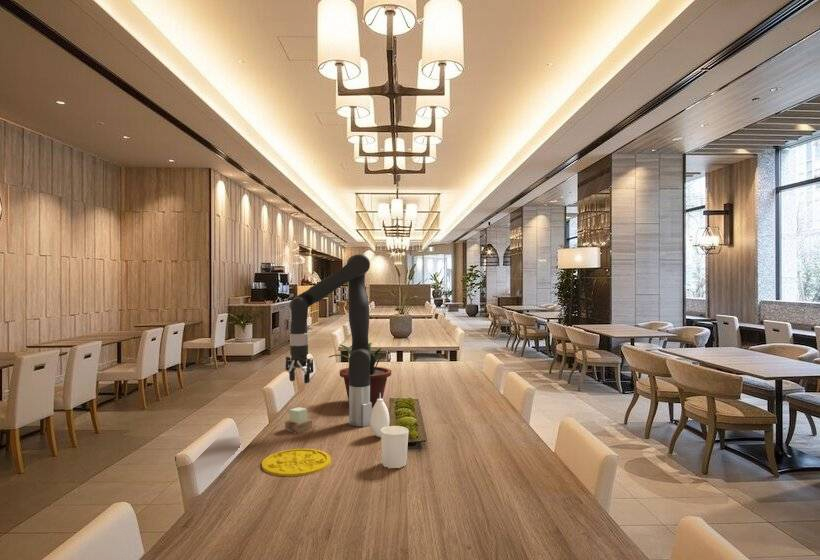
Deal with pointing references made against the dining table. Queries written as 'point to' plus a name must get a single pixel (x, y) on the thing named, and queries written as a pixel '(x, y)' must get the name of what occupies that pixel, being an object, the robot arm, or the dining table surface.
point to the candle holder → (394, 446)
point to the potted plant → (376, 376)
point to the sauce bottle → (379, 417)
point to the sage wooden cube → (298, 415)
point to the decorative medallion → (296, 462)
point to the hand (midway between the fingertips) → (299, 381)
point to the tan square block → (298, 426)
